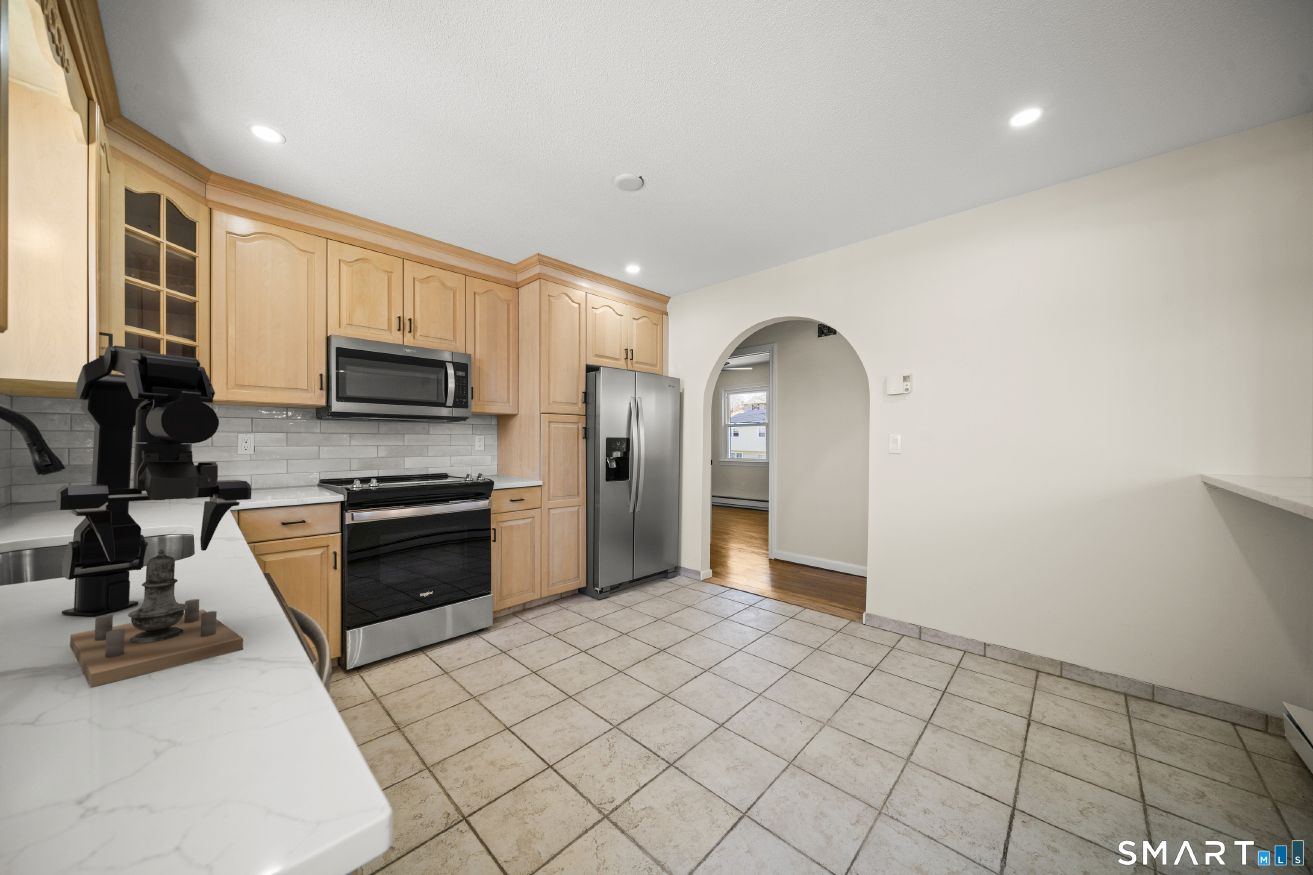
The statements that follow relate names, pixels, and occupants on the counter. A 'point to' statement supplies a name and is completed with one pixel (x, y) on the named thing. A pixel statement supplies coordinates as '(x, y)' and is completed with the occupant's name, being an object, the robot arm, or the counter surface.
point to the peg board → (150, 646)
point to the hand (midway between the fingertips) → (159, 555)
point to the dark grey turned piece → (158, 603)
